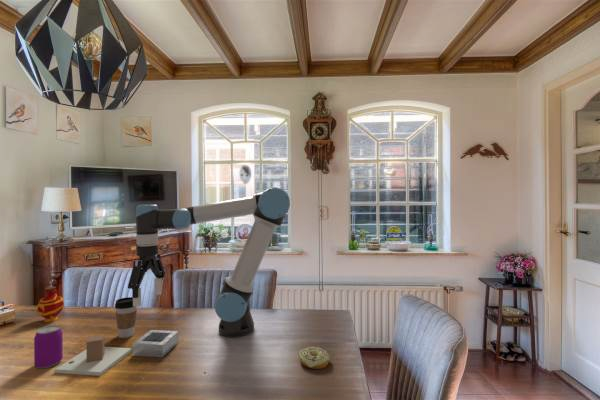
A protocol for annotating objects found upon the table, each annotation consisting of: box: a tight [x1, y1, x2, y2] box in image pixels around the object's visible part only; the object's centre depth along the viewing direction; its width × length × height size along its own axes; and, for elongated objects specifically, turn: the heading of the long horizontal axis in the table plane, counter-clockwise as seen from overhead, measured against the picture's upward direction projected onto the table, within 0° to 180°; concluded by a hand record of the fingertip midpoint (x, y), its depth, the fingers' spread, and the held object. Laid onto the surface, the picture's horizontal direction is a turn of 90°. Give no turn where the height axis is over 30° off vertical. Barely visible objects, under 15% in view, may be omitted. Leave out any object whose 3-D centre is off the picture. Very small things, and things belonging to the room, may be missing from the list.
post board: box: [54, 334, 133, 377], centre depth 110 cm, size 16×16×8 cm
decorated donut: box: [298, 346, 330, 370], centre depth 111 cm, size 10×11×4 cm
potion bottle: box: [36, 285, 65, 323], centre depth 147 cm, size 10×10×15 cm
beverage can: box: [33, 324, 64, 369], centre depth 109 cm, size 8×8×12 cm
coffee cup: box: [114, 296, 138, 339], centre depth 131 cm, size 8×8×15 cm
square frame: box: [132, 329, 179, 358], centre depth 120 cm, size 12×12×4 cm
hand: (148, 299), depth 121 cm, fingers open, 13 cm apart
